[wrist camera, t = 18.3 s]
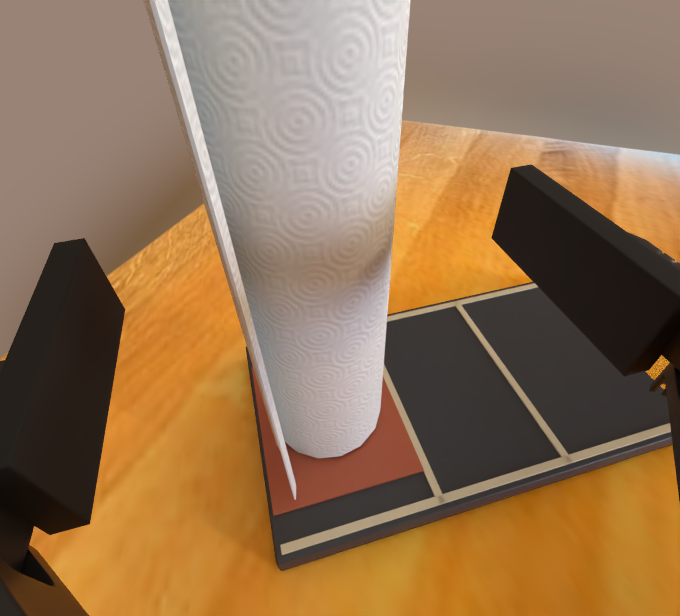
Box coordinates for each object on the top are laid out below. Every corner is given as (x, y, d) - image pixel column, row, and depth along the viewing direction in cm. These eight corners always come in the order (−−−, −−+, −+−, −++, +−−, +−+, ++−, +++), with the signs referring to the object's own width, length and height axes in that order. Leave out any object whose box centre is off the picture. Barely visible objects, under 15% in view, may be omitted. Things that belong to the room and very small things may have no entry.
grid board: (544, 289, 31) (550, 275, 30) (690, 438, 22) (706, 425, 21) (248, 357, 27) (244, 344, 26) (280, 571, 18) (275, 563, 17)
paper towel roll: (335, 350, 26) (303, -160, 11) (402, 415, 22) (494, -204, 7) (234, 415, 23) (-6, -176, 8) (295, 502, 19) (72, -268, 4)
